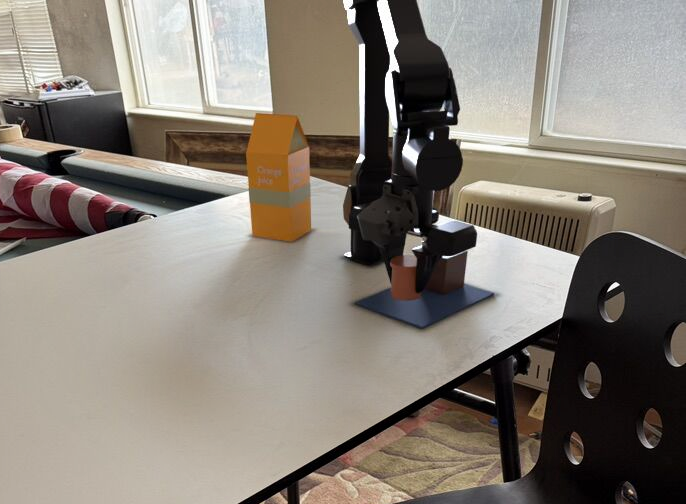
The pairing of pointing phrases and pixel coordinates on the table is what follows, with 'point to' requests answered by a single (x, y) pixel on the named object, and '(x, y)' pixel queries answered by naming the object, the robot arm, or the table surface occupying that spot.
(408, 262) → the terracotta pot
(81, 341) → the table surface
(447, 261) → the walnut block
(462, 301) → the cloth
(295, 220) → the orange juice
